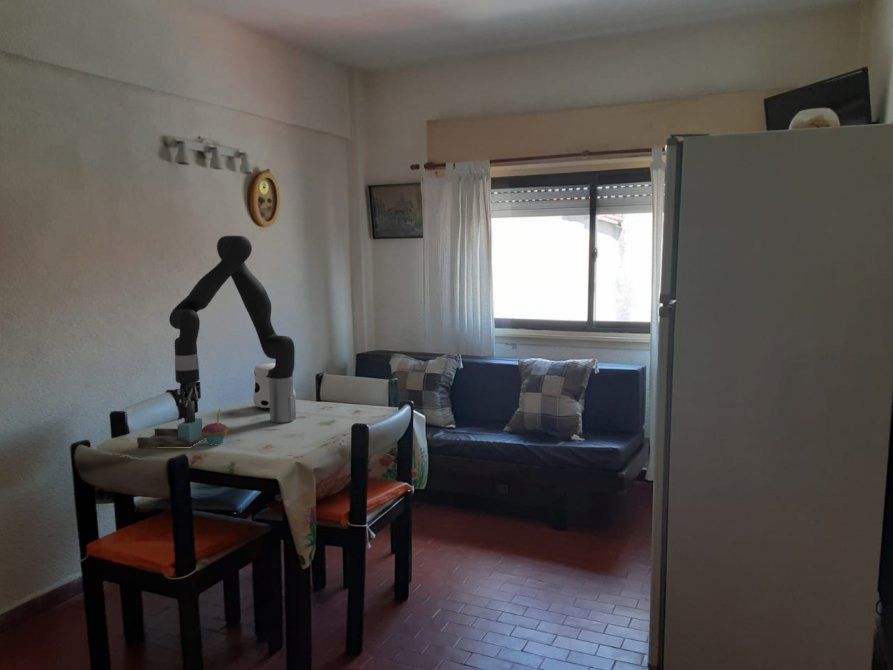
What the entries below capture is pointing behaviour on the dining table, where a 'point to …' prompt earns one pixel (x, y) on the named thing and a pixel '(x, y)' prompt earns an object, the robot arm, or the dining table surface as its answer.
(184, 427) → the press jaw
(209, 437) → the cupcake
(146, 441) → the press base
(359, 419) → the dining table surface
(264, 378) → the milk container
